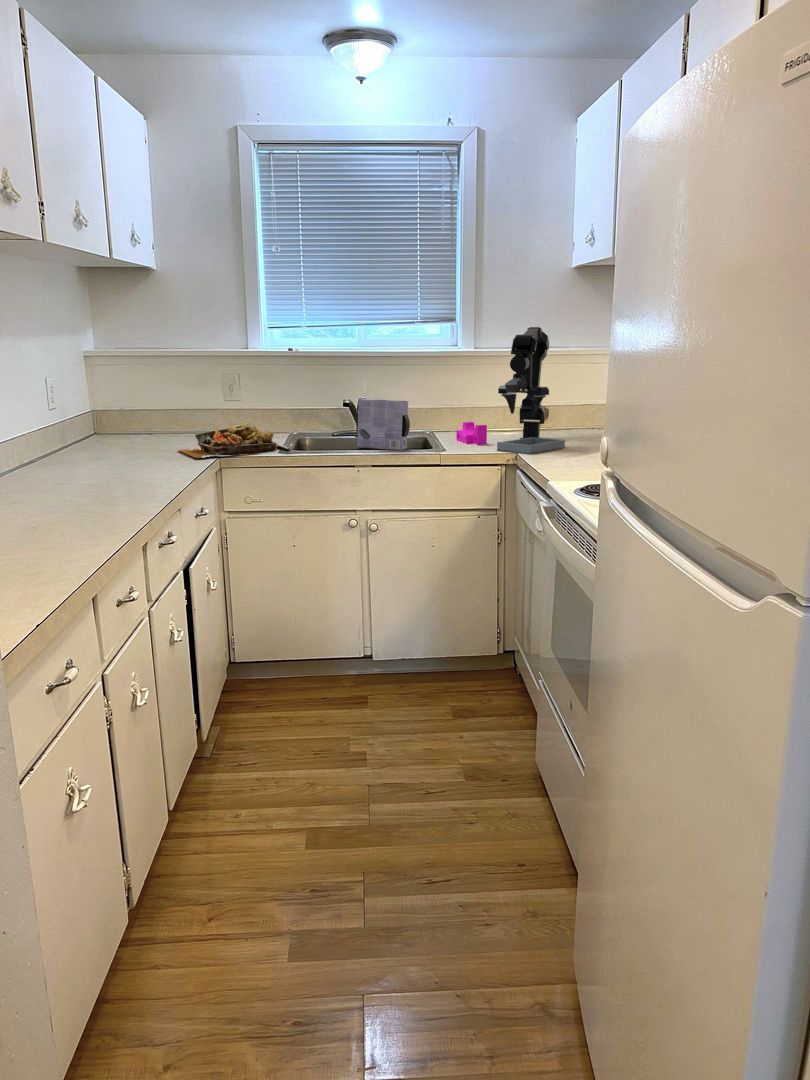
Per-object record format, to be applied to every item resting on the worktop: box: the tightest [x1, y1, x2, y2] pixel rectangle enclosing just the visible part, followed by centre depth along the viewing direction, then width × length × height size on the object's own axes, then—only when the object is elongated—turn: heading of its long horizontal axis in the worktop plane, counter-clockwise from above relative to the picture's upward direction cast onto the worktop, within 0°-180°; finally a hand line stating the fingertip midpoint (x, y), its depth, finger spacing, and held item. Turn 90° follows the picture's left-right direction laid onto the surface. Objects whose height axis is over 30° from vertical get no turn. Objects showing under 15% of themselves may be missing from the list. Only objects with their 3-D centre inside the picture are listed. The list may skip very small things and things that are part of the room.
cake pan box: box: [357, 398, 411, 451], centre depth 287 cm, size 19×5×18 cm, turn 65°
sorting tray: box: [496, 437, 566, 455], centre depth 284 cm, size 21×14×3 cm, turn 135°
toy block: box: [455, 421, 488, 446], centre depth 304 cm, size 15×6×8 cm, turn 18°
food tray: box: [177, 422, 294, 459], centre depth 285 cm, size 35×26×11 cm
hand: (522, 414), depth 291 cm, fingers open, 9 cm apart
